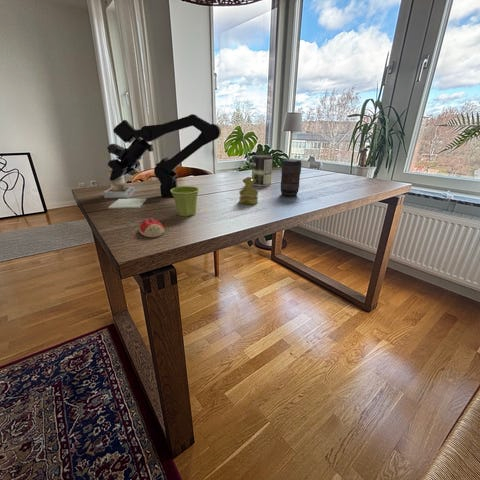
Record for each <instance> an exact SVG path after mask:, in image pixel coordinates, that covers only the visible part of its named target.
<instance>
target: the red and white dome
mask: <svg viewBox="0 0 480 480" xmlns="http://www.w3.org/2000/svg"><path fill="white" fill-rule="evenodd" d="M139 233H140V234H141V235H142V236H144V237H147V238H157V237H160V236H162V235H163V234H164V233H165V227H164V225H163V224H162V223H161V222H160V221H159V220H157V219H156V218H152V217H149V218H145V219H144V220H143V221H141V223H140V225H139Z"/></svg>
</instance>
